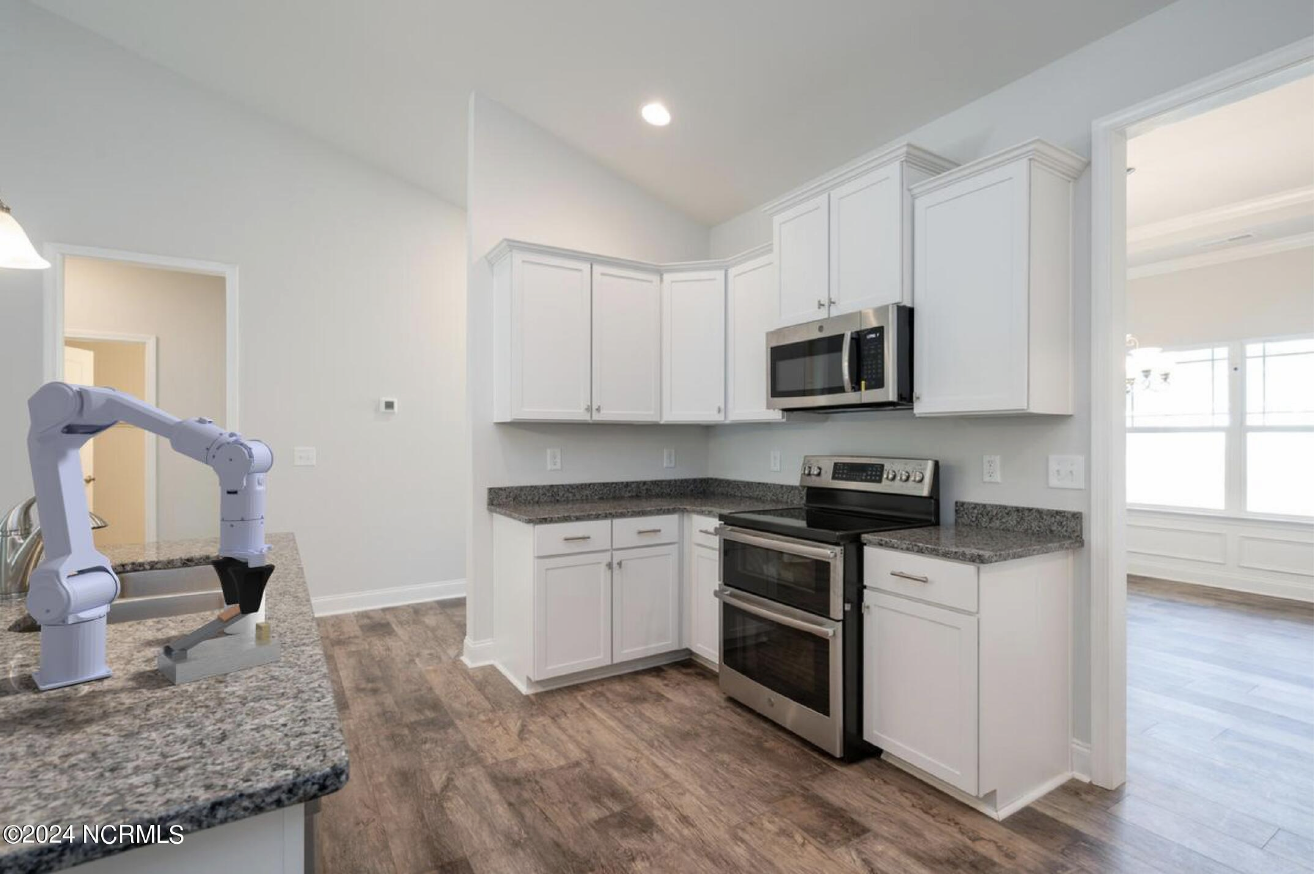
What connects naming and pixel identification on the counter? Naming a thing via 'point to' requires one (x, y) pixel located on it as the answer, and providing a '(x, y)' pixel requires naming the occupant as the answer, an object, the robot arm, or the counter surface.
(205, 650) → the base block
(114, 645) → the counter surface
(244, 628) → the can
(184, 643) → the grey slab
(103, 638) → the robot arm
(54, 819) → the counter surface
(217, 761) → the counter surface
